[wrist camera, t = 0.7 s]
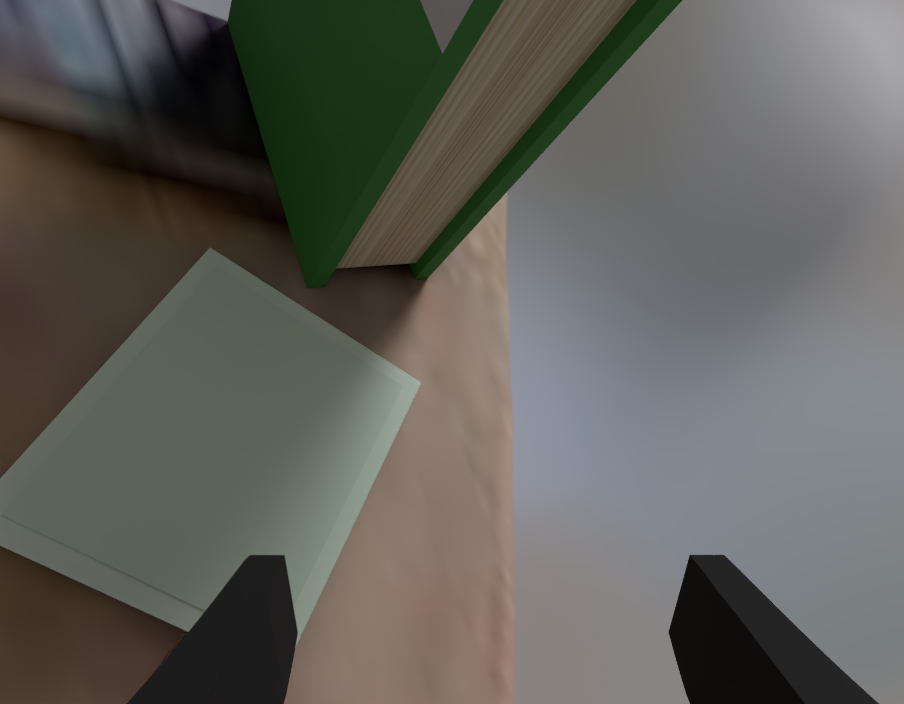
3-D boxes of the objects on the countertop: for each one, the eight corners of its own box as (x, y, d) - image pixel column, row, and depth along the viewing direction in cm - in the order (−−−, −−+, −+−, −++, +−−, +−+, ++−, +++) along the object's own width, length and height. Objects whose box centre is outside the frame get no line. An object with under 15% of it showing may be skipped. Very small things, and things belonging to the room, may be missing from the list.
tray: (277, 673, 21) (282, 675, 21) (-38, 528, 19) (-44, 525, 18) (414, 387, 29) (421, 382, 29) (207, 256, 27) (210, 246, 26)
